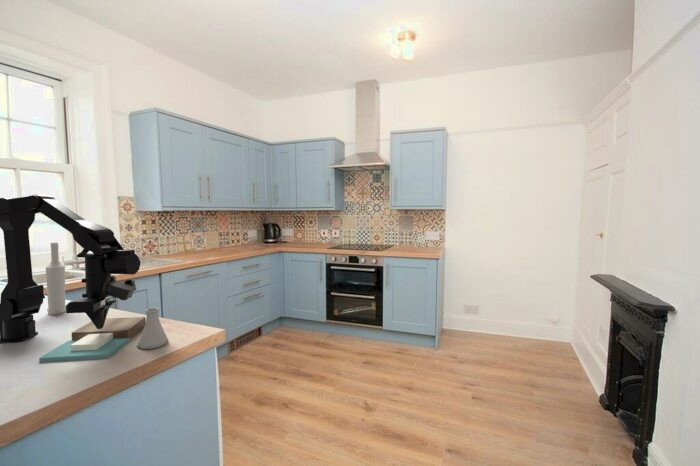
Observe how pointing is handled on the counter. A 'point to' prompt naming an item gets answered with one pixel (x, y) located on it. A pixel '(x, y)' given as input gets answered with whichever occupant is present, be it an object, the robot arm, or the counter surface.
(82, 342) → the cream tile
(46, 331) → the counter surface
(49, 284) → the bottle
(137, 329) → the walnut deck
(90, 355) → the teal mat
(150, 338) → the flask
